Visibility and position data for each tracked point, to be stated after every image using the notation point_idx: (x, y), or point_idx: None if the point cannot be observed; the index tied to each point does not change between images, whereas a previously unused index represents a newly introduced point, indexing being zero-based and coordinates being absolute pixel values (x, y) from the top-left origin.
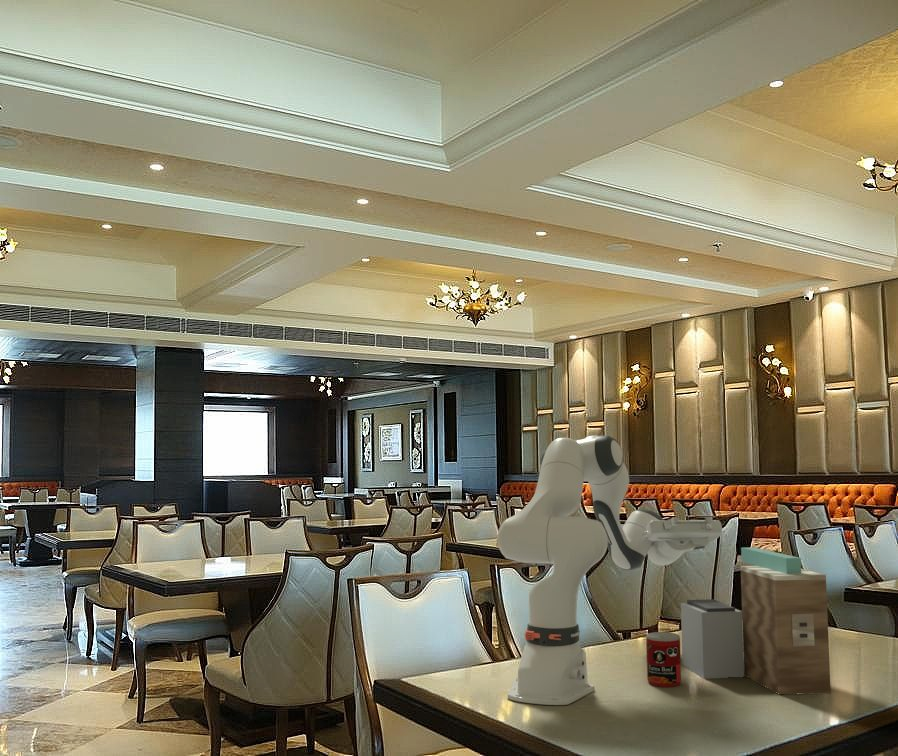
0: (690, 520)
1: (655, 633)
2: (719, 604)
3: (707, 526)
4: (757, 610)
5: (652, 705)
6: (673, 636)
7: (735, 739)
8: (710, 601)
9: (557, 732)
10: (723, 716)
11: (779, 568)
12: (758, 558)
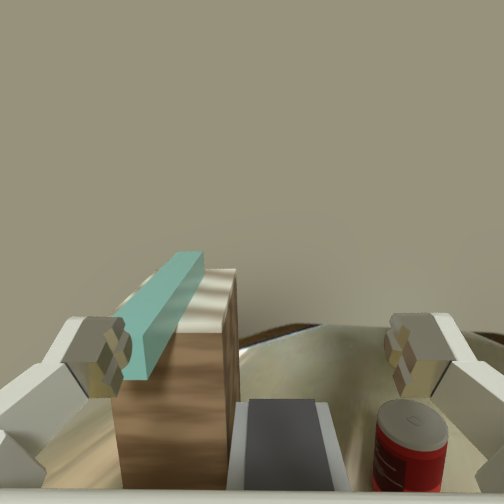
0: (177, 490)
1: (430, 441)
2: (265, 436)
3: (36, 464)
4: (232, 359)
5: (413, 399)
6: (390, 422)
7: (339, 334)
8: (270, 482)
9: (493, 351)
10: (336, 368)
11: (200, 277)
12: (179, 302)
